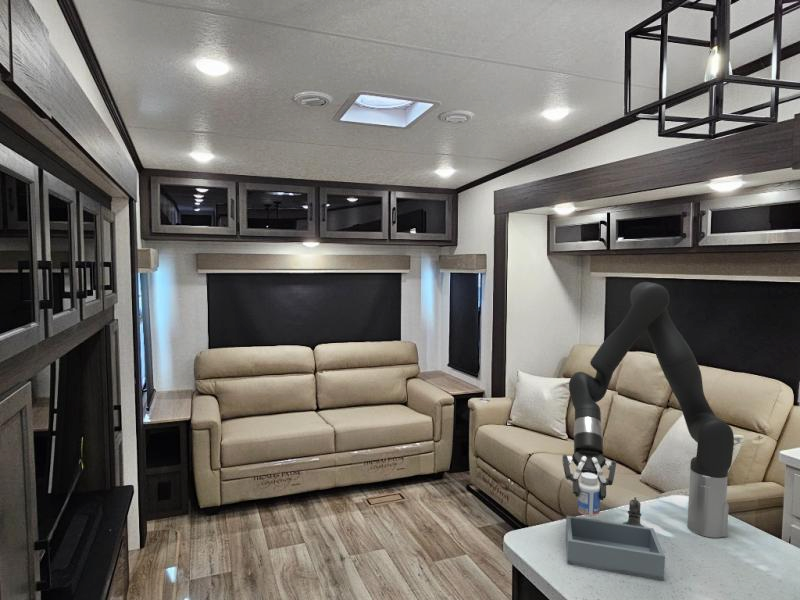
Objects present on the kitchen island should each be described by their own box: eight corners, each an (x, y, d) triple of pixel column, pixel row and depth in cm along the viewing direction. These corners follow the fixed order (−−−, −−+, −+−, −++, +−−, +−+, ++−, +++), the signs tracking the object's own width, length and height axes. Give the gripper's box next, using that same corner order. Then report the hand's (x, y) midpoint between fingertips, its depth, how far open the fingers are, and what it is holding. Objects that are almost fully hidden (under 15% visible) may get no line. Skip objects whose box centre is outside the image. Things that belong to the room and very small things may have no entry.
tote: (652, 550, 135) (653, 528, 135) (663, 580, 122) (665, 556, 121) (565, 536, 141) (566, 515, 141) (567, 563, 128) (568, 540, 127)
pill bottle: (596, 507, 135) (597, 471, 134) (602, 517, 130) (603, 480, 129) (574, 506, 136) (576, 470, 135) (580, 516, 130) (581, 478, 130)
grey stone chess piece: (643, 536, 142) (645, 494, 142) (646, 546, 137) (648, 503, 136) (620, 532, 144) (622, 491, 144) (622, 542, 139) (624, 499, 138)
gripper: (561, 427, 141) (561, 487, 130) (617, 433, 137) (621, 495, 126) (560, 440, 146) (559, 498, 135) (614, 446, 142) (617, 507, 131)
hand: (589, 497), depth 131 cm, fingers closed on pill bottle, 5 cm apart
